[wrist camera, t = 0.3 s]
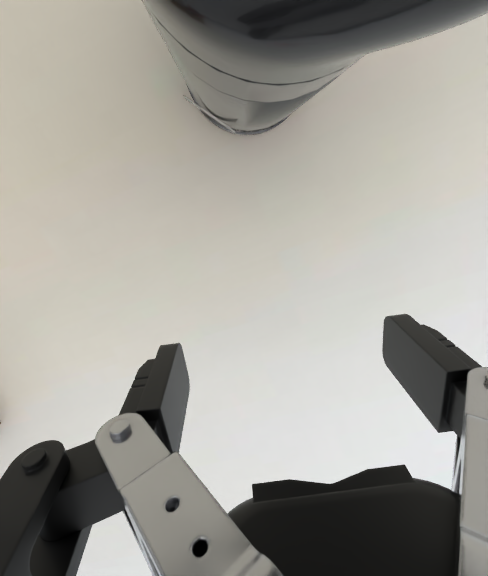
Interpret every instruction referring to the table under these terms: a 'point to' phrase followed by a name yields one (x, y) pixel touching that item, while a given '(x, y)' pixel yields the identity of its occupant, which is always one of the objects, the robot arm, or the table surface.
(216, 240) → the table surface
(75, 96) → the table surface
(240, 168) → the table surface
